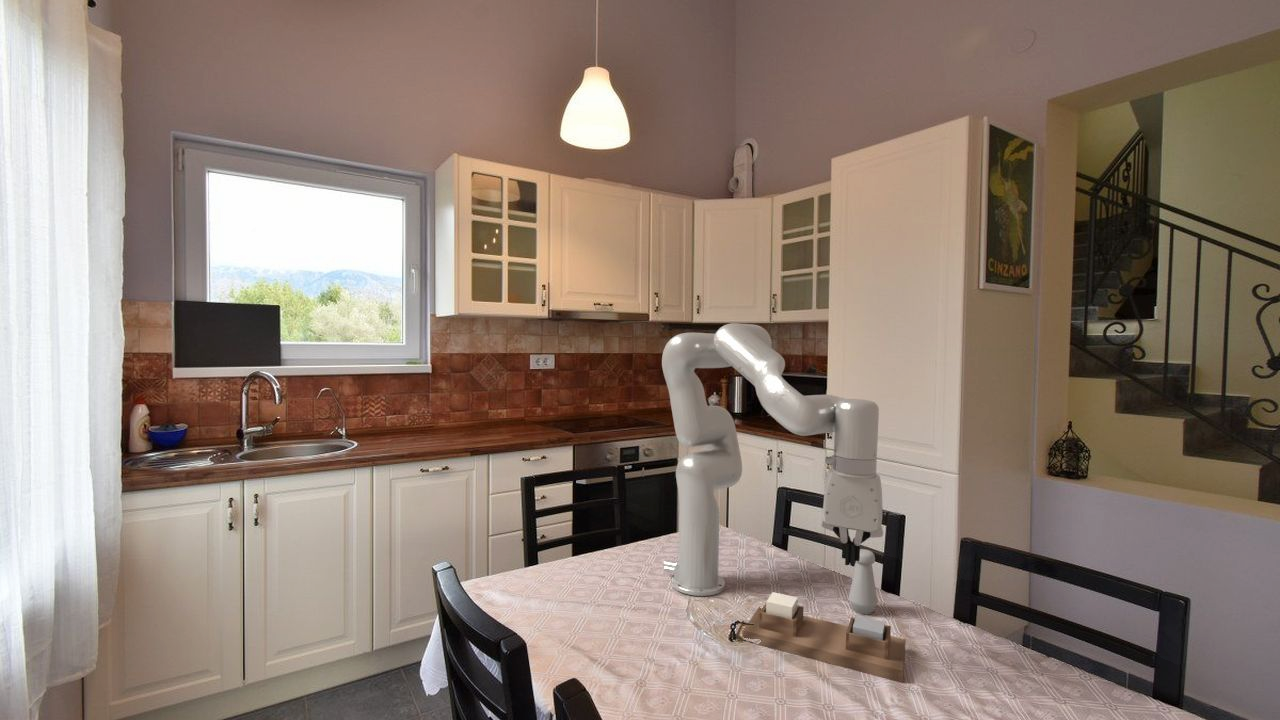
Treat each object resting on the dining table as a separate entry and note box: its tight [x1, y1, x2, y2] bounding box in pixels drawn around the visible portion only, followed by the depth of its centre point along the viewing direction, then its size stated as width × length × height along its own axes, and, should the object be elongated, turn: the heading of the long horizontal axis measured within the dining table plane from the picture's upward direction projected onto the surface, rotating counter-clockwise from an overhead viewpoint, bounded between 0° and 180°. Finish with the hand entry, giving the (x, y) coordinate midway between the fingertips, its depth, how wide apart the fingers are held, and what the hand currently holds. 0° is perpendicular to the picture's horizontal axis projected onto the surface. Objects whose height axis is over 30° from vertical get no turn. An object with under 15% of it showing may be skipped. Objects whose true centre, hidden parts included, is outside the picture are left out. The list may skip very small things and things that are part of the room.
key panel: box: [742, 603, 907, 683], centre depth 108 cm, size 28×12×5 cm, turn 62°
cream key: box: [765, 591, 799, 619], centre depth 112 cm, size 5×5×2 cm
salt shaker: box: [848, 548, 879, 616], centre depth 123 cm, size 6×6×13 cm
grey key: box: [853, 615, 886, 640], centre depth 104 cm, size 5×5×2 cm
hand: (850, 563), depth 106 cm, fingers closed
